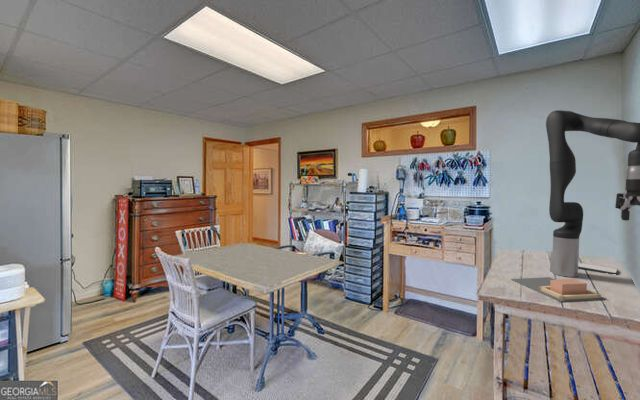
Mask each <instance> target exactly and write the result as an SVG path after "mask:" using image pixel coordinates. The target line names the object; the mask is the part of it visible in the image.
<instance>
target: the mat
mask: <svg viewBox="0 0 640 400" xmlns="http://www.w3.org/2000/svg"><path fill="white" fill-rule="evenodd" d="M510 280H511V281H513V282H515V283H518V284H519V285H521V286H524V287H526V288H529V289H531V290H533V291H535V292H538V293H540V294H542V295H544V296H546V297H549V298H551V299H553V300H556V301H558V302H560V303H568V302H570V303H571V302H587V301H604V300H605V299H608V298H606V297H603V296H602V294H600V293H598V292H595V291H593V290H590V289H587V293H586V294H576V295H561V294H558V293H556V292H554V291H551V290H550V280H556V279H555V278H552V277H549V276H546V277H524V278H520V277H519V278H511V279H510ZM605 301H606V300H605Z"/></svg>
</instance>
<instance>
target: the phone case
mask: <svg viewBox="0 0 640 400" xmlns="http://www.w3.org/2000/svg"><path fill="white" fill-rule="evenodd" d="M578 270H583V271H590V272H595V273H601V274H606V273H608V274H607V275H612V274H616V275H615V276H618V274H619V271H620V270H619V269H618V268H617V269H616V268H612V267H606V266H600V265H593V264H587V263H582V262H578Z"/></svg>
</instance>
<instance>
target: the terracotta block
mask: <svg viewBox="0 0 640 400" xmlns="http://www.w3.org/2000/svg"><path fill="white" fill-rule="evenodd" d="M587 286H588V283H587V282H584V281H581V280H580V279H579V280H578V279H576V278H567V279H565V278H563V279H555V280H550V290H551V291H554V292H556V293H558V294H561V295H576V294H586V293H587V290H588V287H587Z"/></svg>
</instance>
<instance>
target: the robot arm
mask: <svg viewBox="0 0 640 400" xmlns="http://www.w3.org/2000/svg"><path fill="white" fill-rule="evenodd" d="M545 128H546V134H547V141H548V150H549V153H548V154H549V178H550V197H549V208H548V211H549V217H550V219H551V221H552V222H555V223H564V224H563V226H560V227H558V228H556V229H554V230H553V231H552V232H553V234H552V236H553V237H552V251H550V257H549V259H550V261H549V262H550V263H549V271H550V272H551V273H552V274H554V275H557V276H561V277H568V278H569V277H570V278H576V277H578V276H579V269H578V263H579V261H580V259H579V256H580V254H579V253H580V236H581V233H582V230H583V222H584V208H583V206H582V205H581V204H580V203H579V202H577V201H576V202H575V201H565V193H566V190H567V188H568V186H569V185H570V183H571V182H572V180H573V179H574V178H575V176H576V174H577V173H576V172H577V166H576V165H577V164H576V163H577V162H576V157H575V154H574V152H573V150H572V149H571V147H570V146H569V143H568V141H567V139H566V132H586V133H589V134H592V135H594V136H598V137H599V136H600V137H604V138H608V139H617V140H620V141H622V142H628V143H634V144H635V143H636V147H635V149H632V150H631V151H629V153H628V154H627V167H626V172H625V173H626V174H625V191H626V193H625V192H620V193H619V192H618V193H617V194H616V196H615V197H616V198H615V205H614V207H615V209H619V210H620V212H621V214H620V215H621V216H620V218H621V220H622V221H626V222H627V221H630V215H631V213H630V209H632V208H633V207H635V206H639V207H640V122H633V121H632V122H631V121H626V120H624V119H616V118H606V117H592V116H588V115H583V114H580V113H577V112H574V111H571V110H561V109H560V110H553V111H551V112H550V113H549V114H548V115H547V116H546V120H545Z"/></svg>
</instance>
